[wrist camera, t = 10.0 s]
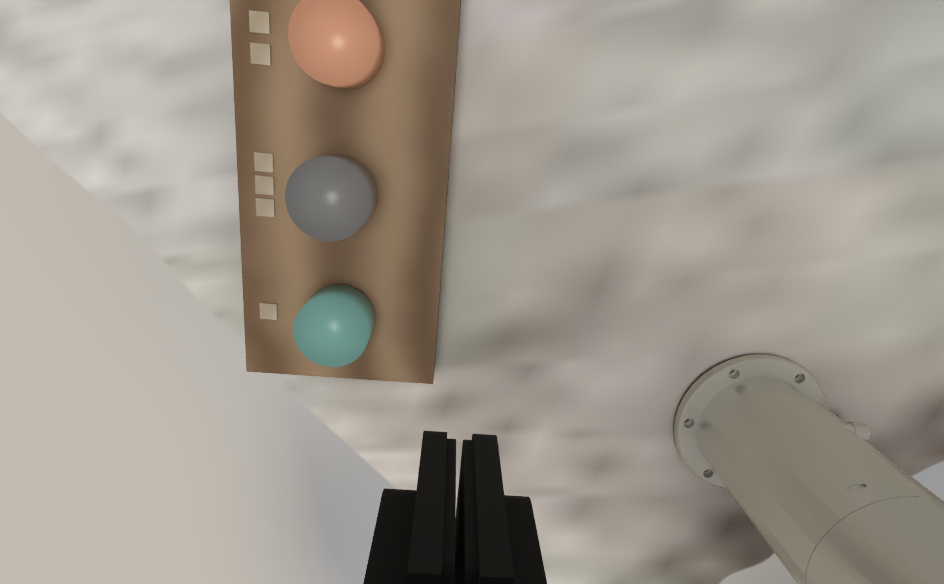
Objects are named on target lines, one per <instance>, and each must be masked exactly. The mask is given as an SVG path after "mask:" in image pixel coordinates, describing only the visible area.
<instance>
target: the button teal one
mask: <svg viewBox="0 0 944 584" xmlns="http://www.w3.org/2000/svg"><path fill="white" fill-rule="evenodd" d="M374 325H375V313H374V309H373V307H372V304H371V303H370V301H369V300H368V298H367V297H366V296H365V295H364V294H363V293H361V292H360V291H359V290H357V289H355V288H353V287H350V286H347V285H340V284H336V285H329V286H326V287H323V288H322V289H320V290H318V291H317V292H316V293H315V294H314V295H313V296H312V297H311V298H310V299H309V300H308V301H307V303H306V304H305V305H304V306H303V307H302V308H301V309H300V311H299V312H298V314H297V315H296V317H295V320H294V324H293V336H294V340H295V343H296V345H297V347H298V348H299V350H300V351H301V352H302V354H303V355H304V356H305V357H307V358H308V359H309V360H311V361H312V362H314V363H316V364H319V365H322V366H326V367H340V366H344V365H347V364H350V363H352V362H353V361H355V360H356V359H357V358H358V357H359V356H360V355H361V354H362V353H363V351H364V350H365V348H366V345H367V343H368V341H369V338H370V336H371V334H372V331H373V329H374Z"/></svg>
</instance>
